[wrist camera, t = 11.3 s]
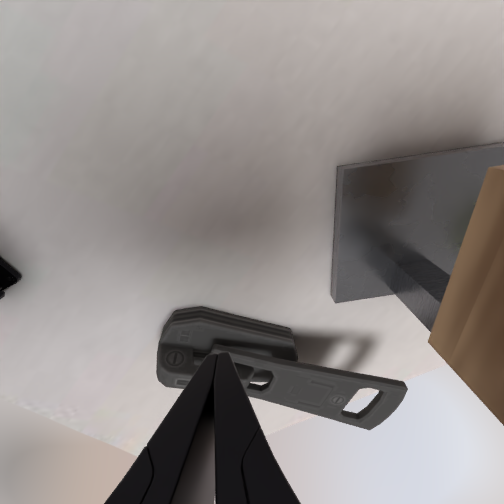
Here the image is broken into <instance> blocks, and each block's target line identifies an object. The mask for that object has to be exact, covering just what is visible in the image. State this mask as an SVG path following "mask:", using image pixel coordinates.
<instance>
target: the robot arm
mask: <svg viewBox="0 0 504 504" xmlns="http://www.w3.org/2000/svg"><path fill="white" fill-rule="evenodd" d="M19 280H21V276H20V275H19V274H18V273H17V272H16V271H14V270H13V269H12V268H11V267H10V266H8V265H7V264H6V263H5V262H4V261H2V260H1V259H0V299H1V298H3V297H4V296H5V292H4V291H2V290H4V289H6V288H8V287H10V286H12V285H14V284H16V283H17V282H18V281H19ZM214 498H215V501H216V504H301V503H300V502H299V500H298V498H297V496H296V495H295V493H294V491H293V490H292V488H291V486H290V484H289V483H288V481H287V479H286V478H285V476H284V474H283V472H282V470H281V468H280V467H279V465H278V463H277V461H276V459H275V457H274V455H273V453H272V451H271V449H270V447H269V445H268V442H267V440H266V438H265V435H264V433H263V431H262V429H261V426H260V424H259V422H258V419H257V417H256V415H255V412H254V410H253V407H252V405H251V403H250V400H249V398H248V396H247V393H246V391H245V388H244V386H243V384H242V381H241V379H240V377H239V374H238V372H237V370H236V367H235V365H234V362H233V360H232V358H231V355H230V353H229V352H228V351H226V352H220V353H219V354H218V353H213V354H208V355H207V356H206V357H205V359H204V360H203V362H202V363H201V365H200V366H199V368H198V369H197V371H196V372H195V374H194V375H193V376H192V378H191V379H190V381H189V382H188V384H187V385H186V387H185V388H184V390H183V391H182V393H181V394H180V396H179V397H178V399H177V400H176V402H175V403H174V405H173V406H172V408H171V409H170V411H169V412H168V414H167V415H166V417H165V418H164V420H163V421H162V423H161V424H160V426H159V427H158V429H157V430H156V432H155V433H154V434H153V436H152V437H151V439H150V440H149V442H148V443H147V447H144V449H143V450H142V452H141V453H140V455H139V456H138V458H137V459H136V461H135V462H134V463H133V465H132V466H131V468H130V469H129V471H128V472H127V474H126V475H125V476H124V478H123V479H122V481H121V482H120V483H119V484H118V486H117V487H116V489H115V490H114V491H113V492H112V494H111V495H110V497H109V498H108V499H107V500H106V502H105V503H104V504H214Z"/></svg>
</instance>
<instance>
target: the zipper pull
mask: <svg viewBox="0 0 504 504" xmlns="http://www.w3.org/2000/svg"><path fill="white" fill-rule="evenodd" d="M226 351H228V352H229V353H230V355H231V358H232V360H233V362H234V365H235V367H236V370H237V372H238V374H239V377H240V379H241V381H242V384H243V386H244V388H245V391H246V393H247V396H249V397H253V398H258V399H262V400H266V401H269V402H273V403H276V404H280V405H283V406H287V407H290V408H294V409H297V410H301V411H304V412H308V413H311V414H315V415H318V416H322V417H326V418H330V419H333V420H336V421H339V422H342V423H346V424H349V425H353V426H357V427H360V428H364V429H367V430H371V429H372V428H374V427H376V426H377V425H379V424H381V423H382V422H383V421H384V420H385V419H387V418H388V417H389V416H390V415H391V414H392V413H393V412H394V411H395V410H396V409H397V407H398V406H399V405H400V403H401V402H402V401H403V399H404V396H405V394H406V392H407V390H408V388H407V387H406V385H405V383H404V382H403V381H398V380H393V379H388V378H383V377H377V376H372V375H366V374H360V373H354V372H349V371H343V370H338V369H333V368H327V367H322V366H316V365H311V364H305V363H300V362H297V360H298V356H297V352H296V347H295V343H294V340H293V336H292V333H291V330H290V328H287V327H283V326H279V325H275V324H271V323H266V322H262V321H258V320H254V319H250V318H246V317H241V316H237V315H233V314H229V313H225V312H221V311H217V310H213V309H209V308H206V307H196V308H189V309H183V310H176V311H175V312H174V313H173V314H172V316H171V317H170V319H169V320H168V322H167V323H166V324H165V326H164V328H163V331H162V334H161V338H160V341H159V345H158V351H157V371H156V373H157V378H158V381H159V382H161V383H162V384H163V385H164V386H166V387H171V388H180V389H184V388H185V387H186V385H187V384H188V382H189V381H190V379H191V378H192V376H193V375H194V374H195V372H196V371H197V369H198V368H199V366H200V365H201V363H202V362H203V360H204V359H205V357H206V356H207V355H208V354H213V353H218V354H219V353H220V352H226ZM250 382H268V383H266V384H264V385H262V386H261V385H257V384H253V383H250ZM362 388H373V389H377V390H379V393H378V394H377V395H376V396H375V398H374V399H373V400H372V401H371V402H370V403H369V405H368V406H367V407H365V408H364V409H363V410H361V411H360V412H359V413H353V412H348V411H344V410H343V409H344V407H345V406H346V405H347V404H348V402H349V401H350V400H351V399H352V397H353V396H354V395H355V394H356V392H357V391H358V390H359V389H362Z"/></svg>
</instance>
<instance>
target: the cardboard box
mask: <svg viewBox="0 0 504 504" xmlns="http://www.w3.org/2000/svg"><path fill="white" fill-rule="evenodd" d="M428 343H429V344H430V345H431V346H432V347H433V348H434V349H435V350H436V351H437V353H438V354H439V355H440V356H441V357H442V358H443V359H444V360H445V361H446V362H447V364H448V365H449V366H450V367H451V368H452V369H453V370H454V371H455V372H456V373H457V375H458V376H459V377H460V378H461V379H462V380H463V381H464V382H465V383H466V384H467V386H468V387H469V388H470V389H471V390H472V391H473V392H474V393H475V394H476V395H477V397H478V398H479V399H480V400H481V401H482V402H483V403H484V404H485V405H486V406H487V407H488V409H489V410H490V411H491V412H492V413H493V414H494V415H495V416H496V417H497V419H498V420H499V421H500V422H501V423H502V424H503V425H504V165H500V166H494V167H488V170H487V173H486V176H485V179H484V182H483V185H482V187H481V190H480V193H479V196H478V199H477V202H476V205H475V208H474V210H473V213H472V216H471V219H470V222H469V225H468V228H467V231H466V233H465V236H464V239H463V242H462V245H461V248H460V251H459V254H458V256H457V259H456V262H455V265H454V268H453V271H452V274H451V277H450V279H449V282H448V285H447V288H446V291H445V294H444V297H443V300H442V302H441V305H440V308H439V311H438V314H437V317H436V320H435V323H434V325H433V328H432V331H431V334H430V337H429V340H428Z"/></svg>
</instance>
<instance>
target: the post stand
mask: <svg viewBox="0 0 504 504" xmlns="http://www.w3.org/2000/svg"><path fill="white" fill-rule="evenodd" d="M500 165H504V142H503V143H496V144H489V145H483V146H476V147H469V148H462V149H455V150H448V151H441V152H434V153H427V154H420V155H413V156H406V157H399V158H392V159H385V160H378V161H372V162H365V163H358V164H351V165H344V166H337V185H336V205H335V224H334V244H333V263H332V283H331V297H332V298H333V300H334V302H335V303H340V302H347V301H354V300H360V299H367V298H373V297H380V296H386V295H393V294H395V295H396V296H397V297H398V298H399V299H400V300H401V301H402V302H403V303H404V304H405V305H406V306H407V307H408V308H409V310H410V311H411V312H412V313H413V314H414V315H415V316H416V317H417V318H418V319H419V320H420V321H421V322H422V323H423V325H424V326H425V327H426V328H427V329H428V330H429V331H430V332H431V331H432V328H433V325H434V323H435V320H436V317H437V314H438V311H439V308H440V305H441V302H442V300H443V297H444V294H445V291H446V288H447V285H448V282H449V279H450V277H451V274H452V271H453V268H454V265H455V262H456V259H457V256H458V254H459V251H460V248H461V245H462V242H463V239H464V236H465V233H466V231H467V228H468V225H469V222H470V219H471V216H472V213H473V210H474V208H475V205H476V202H477V199H478V196H479V193H480V190H481V187H482V185H483V182H484V179H485V176H486V173H487V170H488V167H494V166H500Z"/></svg>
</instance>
